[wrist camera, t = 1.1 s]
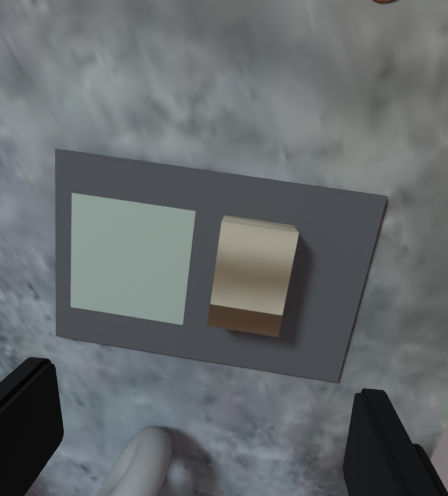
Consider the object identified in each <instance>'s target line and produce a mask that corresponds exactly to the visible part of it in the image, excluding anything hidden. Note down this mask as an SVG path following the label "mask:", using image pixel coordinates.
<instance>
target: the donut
mask: <svg viewBox="0 0 448 496" xmlns="http://www.w3.org/2000/svg"><path fill="white" fill-rule="evenodd" d="M171 453H172V446H171V438H170V436H169V434H168V433H167V432H166V431H165V430H164V429H162V428H160V427H158V426H150V427H147V428H145V429H143V430H142V431H140V432H139V433H138V434H137V435H136V436H135V437H134V438H133V439H132V440H131V441H130V442H129V444H128V445H127V446H126V447H125V449H124V450H123V452H122V453H121V454H120V456H119V457H118V459H117V460H116V462H115V463H114V465H113V466H112V468H111V470H110V471H109V473H108V475H107V477H106V478H105V480H104V482H103V484H102V486H101V488H100V489H99V491H98V493H97V496H157V494H158V492H159V490H160V488H161V485H162V483H163V481H164V479H165V476H166V473H167V470H168V467H169V463H170V458H171Z"/></svg>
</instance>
